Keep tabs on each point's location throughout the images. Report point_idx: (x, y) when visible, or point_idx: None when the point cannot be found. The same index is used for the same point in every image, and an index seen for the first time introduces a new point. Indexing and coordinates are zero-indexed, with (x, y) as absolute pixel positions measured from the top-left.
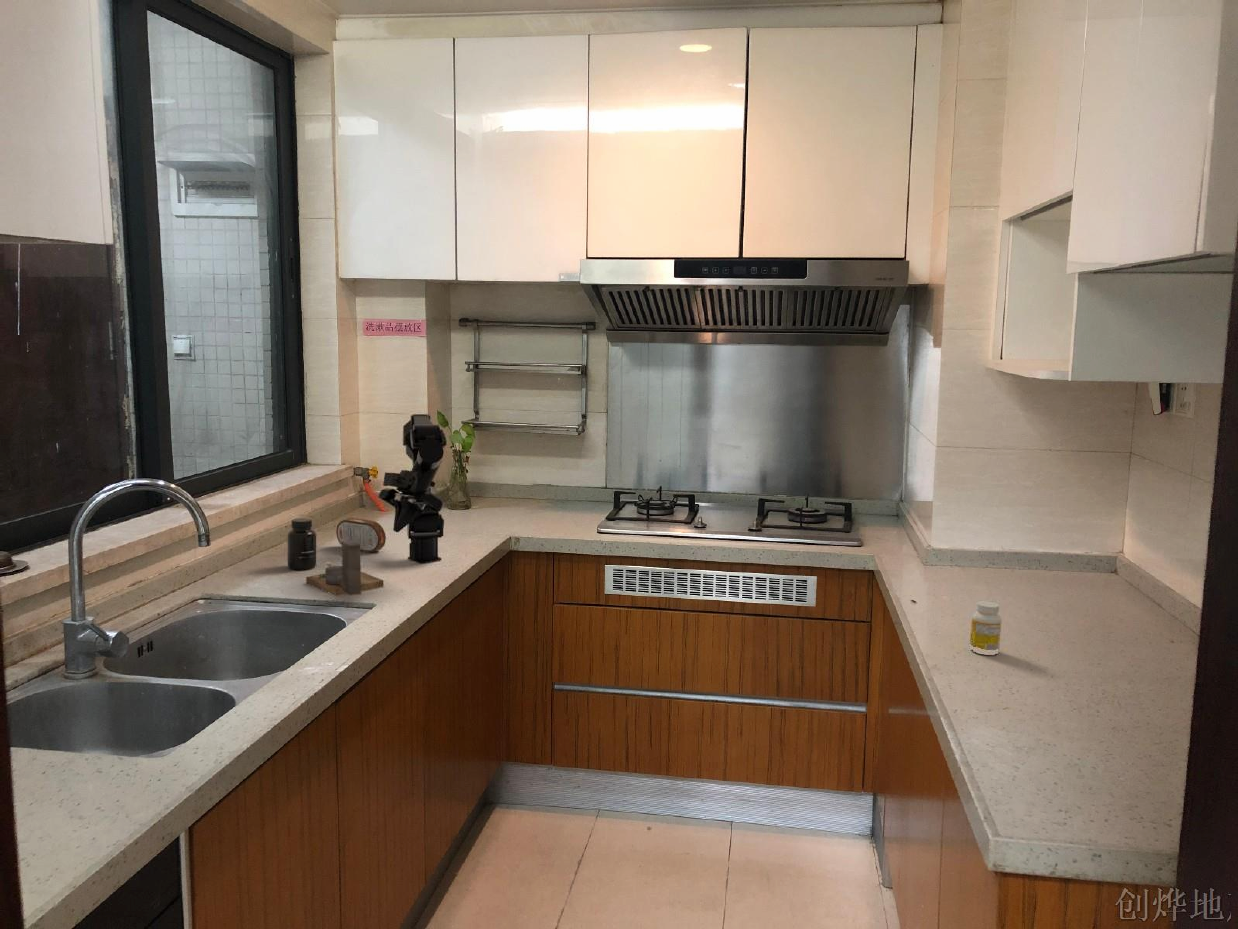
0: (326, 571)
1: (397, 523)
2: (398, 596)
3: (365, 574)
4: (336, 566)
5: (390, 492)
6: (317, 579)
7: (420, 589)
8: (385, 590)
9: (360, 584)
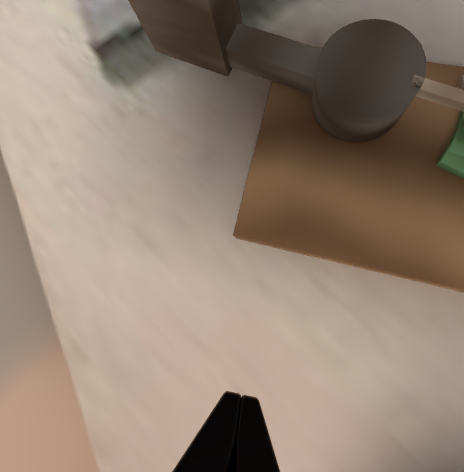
0: (381, 23)
1: (207, 448)
2: (112, 184)
3: (363, 255)
4: (405, 89)
5: None
6: (459, 80)
7: (105, 292)
8: (197, 209)
9: (143, 25)
